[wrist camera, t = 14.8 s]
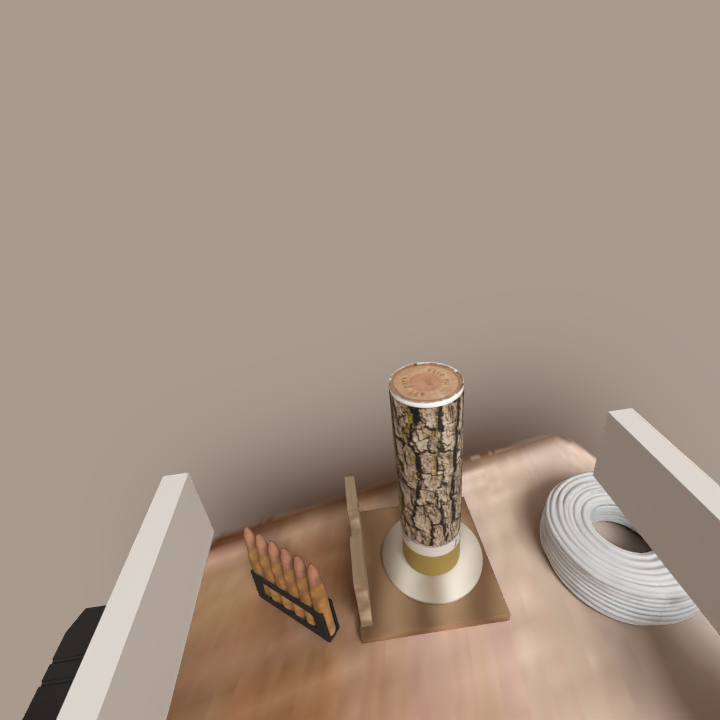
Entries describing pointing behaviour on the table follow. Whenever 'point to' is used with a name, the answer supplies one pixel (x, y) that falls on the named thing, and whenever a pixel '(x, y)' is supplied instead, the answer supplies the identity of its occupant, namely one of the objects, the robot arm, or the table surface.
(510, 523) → the table surface
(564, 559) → the cable
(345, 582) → the table surface
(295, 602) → the ammunition clip
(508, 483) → the table surface
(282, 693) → the table surface
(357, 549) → the base
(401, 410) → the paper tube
